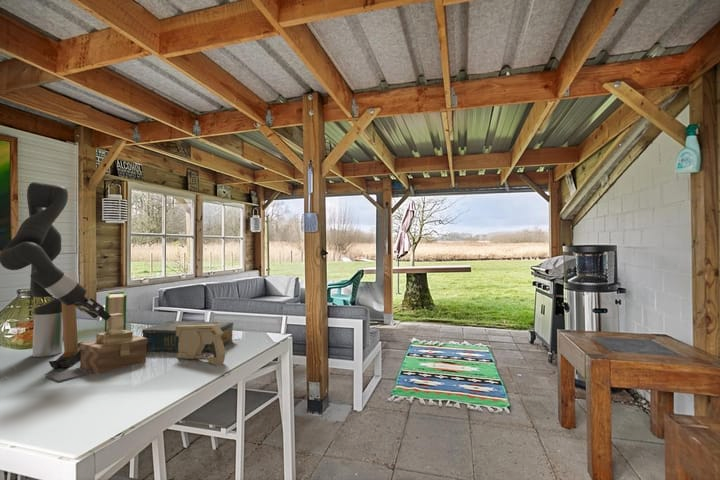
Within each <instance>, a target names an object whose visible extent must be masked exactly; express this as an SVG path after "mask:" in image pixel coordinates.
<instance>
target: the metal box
mask: <svg viewBox="0 0 720 480" xmlns="http://www.w3.org/2000/svg"><path fill="white" fill-rule="evenodd" d="M180 325H218V326H219V327H220V329H221V330H222V331H223V335H222V336H221V340H222V341H223V345H224V346H226V345H229V344H230V343H232V342H233V329H234V328H233V327H234V322H233V321H200V320H199V321H197V320H196V321H195V320H194V321H193V320H190V321H189V320H188V321H187V320H170V321H166V322H163V323H159V324H156V325H151V326H148V327H146V328H143V329H142V330H141V331H142V337H144V338H148V343H147V344H146V352H155V353H156V352H157V353H159V352H164V353H166V352H168V353H169V352H171V353H172V352H173V353H179V352H178V343H179V336H176V326H180ZM202 353H203V354H206V353H207V354H213V352H212V347H210V348H209V344H206V345H205V347H204V349H203V350H202V352H201V354H202Z"/></svg>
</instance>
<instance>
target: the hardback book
mask: <svg viewBox="0 0 720 480" xmlns="http://www.w3.org/2000/svg"><path fill="white" fill-rule="evenodd" d="M127 295H128V294H127V291H117V292H114V291H113V292H107V293H106V295H105V307H104V308H105V309H104V311H106V312H107V313H108V314H116V313H121V314H124V327H123V330H127V328H126V327H127V326H126V325H127V324H126V323H127ZM106 329H107V320H104V332H106Z"/></svg>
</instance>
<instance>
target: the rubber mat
mask: <svg viewBox="0 0 720 480" xmlns="http://www.w3.org/2000/svg"><path fill="white" fill-rule="evenodd" d="M91 374H92V371H89V370H86V369H83V368H81V367H75V368H72V369H67V370H63V371H58V372H55V373H50V374H47V375H45V378H47V379H49V380H52V381H54V382H56V383H62V382H65V381H70V380H74V379H77V378H80V377H81V378H82V377H85V376H91Z"/></svg>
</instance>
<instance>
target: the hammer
mask: <svg viewBox="0 0 720 480" xmlns="http://www.w3.org/2000/svg"><path fill="white" fill-rule="evenodd" d="M61 303H62V302H61ZM62 320H63V350H64V352H62V354H61V355H60V356H59V357H58V358H56V360H48V364H49V365H50V367H51V368H52V369H59V368H60V369H61V368H70V367H72V366H74V365H76V364H77V363H78V362H79V363H80V360H81V349H80V343H83V342H84V341H80V342H79V340H78V321H77V320H78V319H77V307H75V306H74V305H73V304H72V305H69V306H67V305H65V304H63V303H62Z"/></svg>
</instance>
